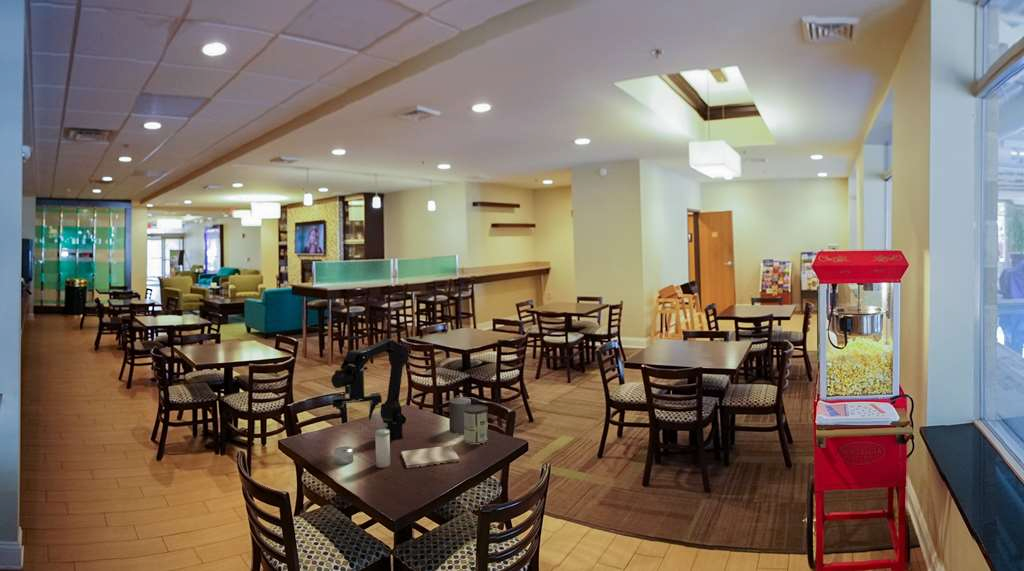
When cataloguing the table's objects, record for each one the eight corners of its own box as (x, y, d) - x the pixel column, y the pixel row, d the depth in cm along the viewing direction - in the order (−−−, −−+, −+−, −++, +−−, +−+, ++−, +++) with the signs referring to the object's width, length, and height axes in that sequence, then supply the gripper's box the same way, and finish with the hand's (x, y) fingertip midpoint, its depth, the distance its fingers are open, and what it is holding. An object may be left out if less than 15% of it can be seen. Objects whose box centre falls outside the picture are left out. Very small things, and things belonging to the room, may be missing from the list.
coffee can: (471, 435, 249) (470, 403, 248) (492, 438, 245) (491, 406, 244) (459, 442, 240) (458, 409, 239) (480, 446, 236) (480, 412, 235)
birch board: (450, 448, 234) (450, 445, 234) (459, 461, 219) (459, 458, 219) (401, 454, 227) (401, 451, 227) (406, 468, 213) (406, 465, 213)
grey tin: (352, 457, 224) (352, 445, 224) (353, 464, 218) (353, 451, 217) (334, 460, 222) (333, 447, 222) (334, 466, 215) (334, 453, 215)
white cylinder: (389, 461, 220) (388, 428, 219) (391, 466, 215) (390, 432, 214) (375, 463, 218) (374, 429, 217) (376, 468, 213) (375, 434, 212)
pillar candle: (445, 429, 257) (444, 397, 256) (463, 425, 263) (463, 393, 261) (456, 435, 249) (456, 402, 248) (475, 430, 255) (475, 398, 254)
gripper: (378, 376, 238) (379, 413, 239) (331, 379, 232) (332, 417, 233) (381, 382, 227) (382, 420, 228) (332, 386, 221) (333, 426, 223)
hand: (357, 421), depth 228 cm, fingers open, 9 cm apart
